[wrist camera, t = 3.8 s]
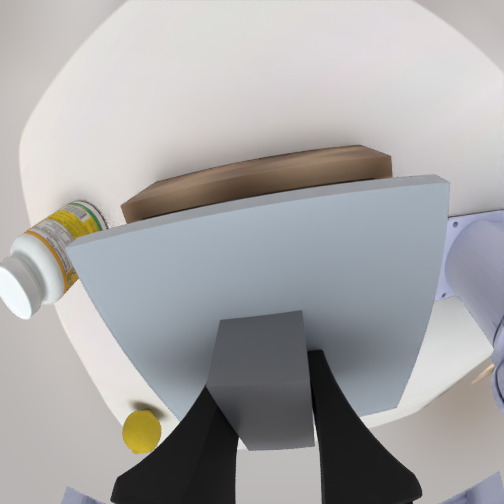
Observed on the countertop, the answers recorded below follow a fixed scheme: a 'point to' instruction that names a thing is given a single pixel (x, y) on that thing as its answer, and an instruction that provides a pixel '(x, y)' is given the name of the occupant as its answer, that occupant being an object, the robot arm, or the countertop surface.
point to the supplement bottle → (45, 259)
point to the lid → (275, 298)
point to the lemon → (141, 431)
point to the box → (258, 179)
